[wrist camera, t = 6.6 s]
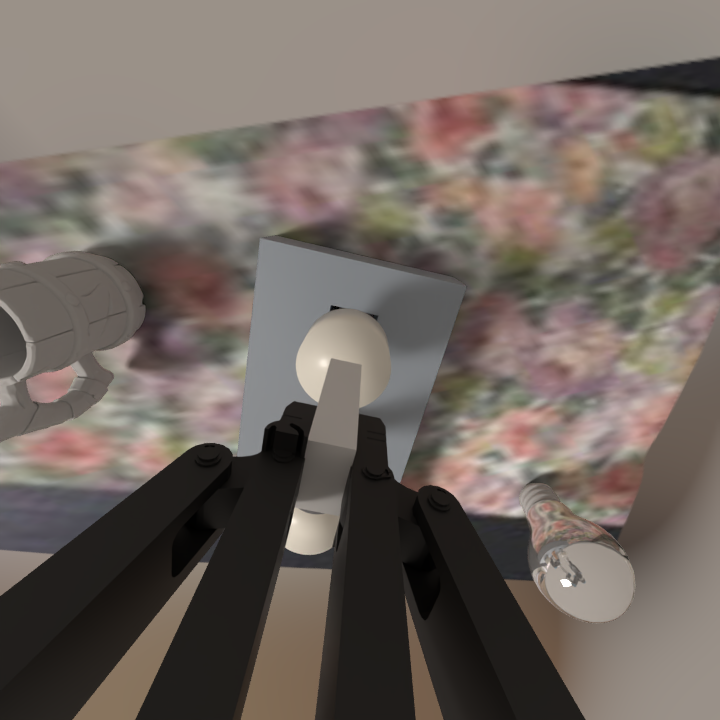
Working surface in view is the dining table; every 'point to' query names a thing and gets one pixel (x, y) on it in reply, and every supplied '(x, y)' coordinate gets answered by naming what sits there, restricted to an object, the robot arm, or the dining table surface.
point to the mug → (61, 333)
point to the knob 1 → (311, 532)
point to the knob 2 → (345, 352)
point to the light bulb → (575, 559)
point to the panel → (352, 291)
